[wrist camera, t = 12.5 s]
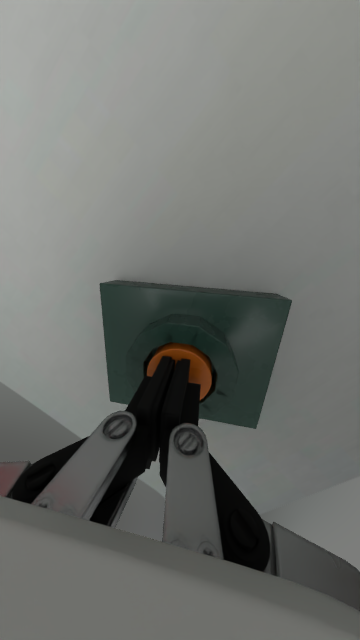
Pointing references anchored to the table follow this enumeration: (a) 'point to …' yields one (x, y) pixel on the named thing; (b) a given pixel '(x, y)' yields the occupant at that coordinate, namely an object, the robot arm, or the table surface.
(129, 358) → the green button base
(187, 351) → the orange push button
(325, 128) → the table surface
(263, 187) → the table surface
